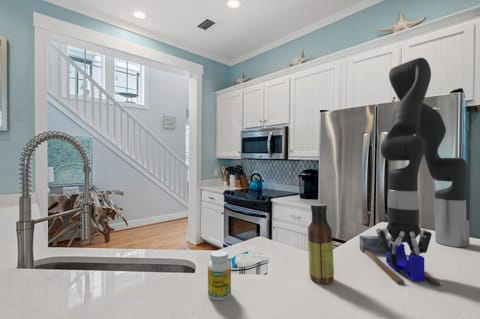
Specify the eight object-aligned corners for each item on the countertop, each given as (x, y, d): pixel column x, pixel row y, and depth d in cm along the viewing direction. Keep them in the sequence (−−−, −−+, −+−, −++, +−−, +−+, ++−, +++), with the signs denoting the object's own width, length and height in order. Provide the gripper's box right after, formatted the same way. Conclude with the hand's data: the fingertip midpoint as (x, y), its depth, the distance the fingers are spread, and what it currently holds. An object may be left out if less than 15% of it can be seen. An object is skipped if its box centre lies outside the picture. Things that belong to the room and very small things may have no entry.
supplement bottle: (228, 287, 61) (228, 248, 61) (232, 299, 56) (233, 256, 56) (206, 290, 60) (206, 250, 60) (208, 302, 55) (209, 258, 55)
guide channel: (392, 251, 88) (392, 236, 88) (442, 287, 62) (442, 266, 62) (359, 249, 89) (359, 235, 89) (395, 284, 63) (395, 264, 63)
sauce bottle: (333, 276, 67) (333, 203, 68) (334, 287, 62) (334, 206, 62) (308, 272, 70) (308, 201, 70) (307, 283, 64) (307, 205, 64)
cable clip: (386, 261, 77) (386, 242, 77) (402, 262, 76) (401, 243, 76) (405, 279, 65) (405, 256, 65) (424, 281, 64) (424, 257, 64)
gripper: (422, 204, 73) (422, 262, 73) (371, 203, 75) (371, 260, 75) (439, 209, 66) (440, 273, 66) (382, 207, 68) (382, 270, 67)
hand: (403, 266), depth 70 cm, fingers closed on cable clip, 4 cm apart
